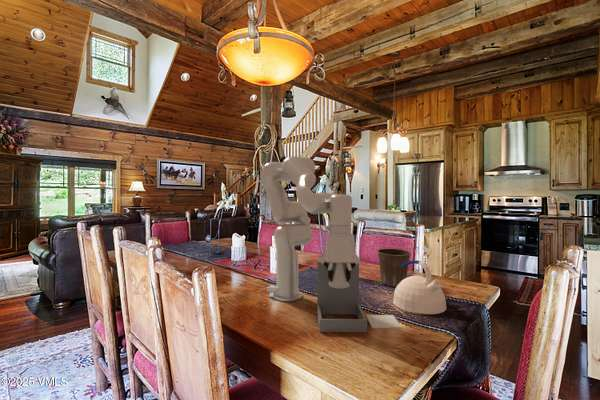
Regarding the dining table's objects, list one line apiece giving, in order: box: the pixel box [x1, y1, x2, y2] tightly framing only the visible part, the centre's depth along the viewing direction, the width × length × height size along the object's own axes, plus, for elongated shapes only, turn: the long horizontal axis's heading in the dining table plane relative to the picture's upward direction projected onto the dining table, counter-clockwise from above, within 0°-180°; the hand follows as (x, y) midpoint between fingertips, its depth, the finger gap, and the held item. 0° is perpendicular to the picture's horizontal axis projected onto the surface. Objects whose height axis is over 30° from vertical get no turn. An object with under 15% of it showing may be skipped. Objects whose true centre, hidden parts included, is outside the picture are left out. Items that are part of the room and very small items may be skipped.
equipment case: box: [316, 261, 368, 333], centre depth 110 cm, size 16×16×20 cm
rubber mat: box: [365, 314, 403, 330], centre depth 109 cm, size 10×10×1 cm
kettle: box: [392, 260, 447, 315], centre depth 126 cm, size 20×21×18 cm
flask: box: [328, 263, 350, 289], centre depth 110 cm, size 7×7×10 cm
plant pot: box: [376, 248, 412, 288], centre depth 155 cm, size 16×16×16 cm
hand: (339, 280), depth 110 cm, fingers closed on flask, 5 cm apart
